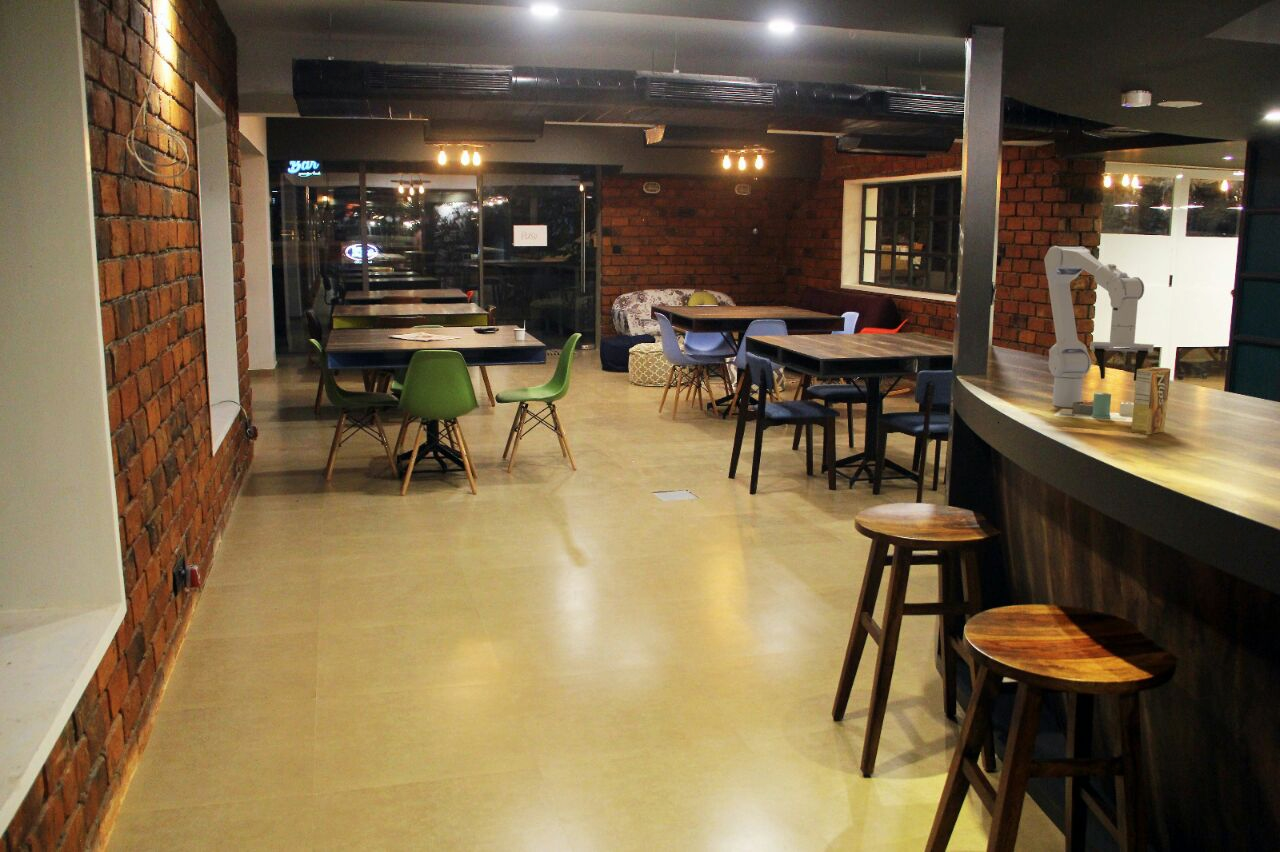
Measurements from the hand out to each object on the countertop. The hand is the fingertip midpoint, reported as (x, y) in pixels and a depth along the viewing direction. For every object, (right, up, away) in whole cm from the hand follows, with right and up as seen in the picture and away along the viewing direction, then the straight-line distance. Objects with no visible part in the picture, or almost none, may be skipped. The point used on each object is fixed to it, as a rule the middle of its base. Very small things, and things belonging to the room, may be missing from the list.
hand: (1118, 379), depth 274 cm
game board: (-3, -10, +2) cm, 11 cm away
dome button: (-5, -8, +6) cm, 11 cm away
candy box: (-1, -14, -17) cm, 22 cm away
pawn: (-5, -10, -1) cm, 11 cm away
